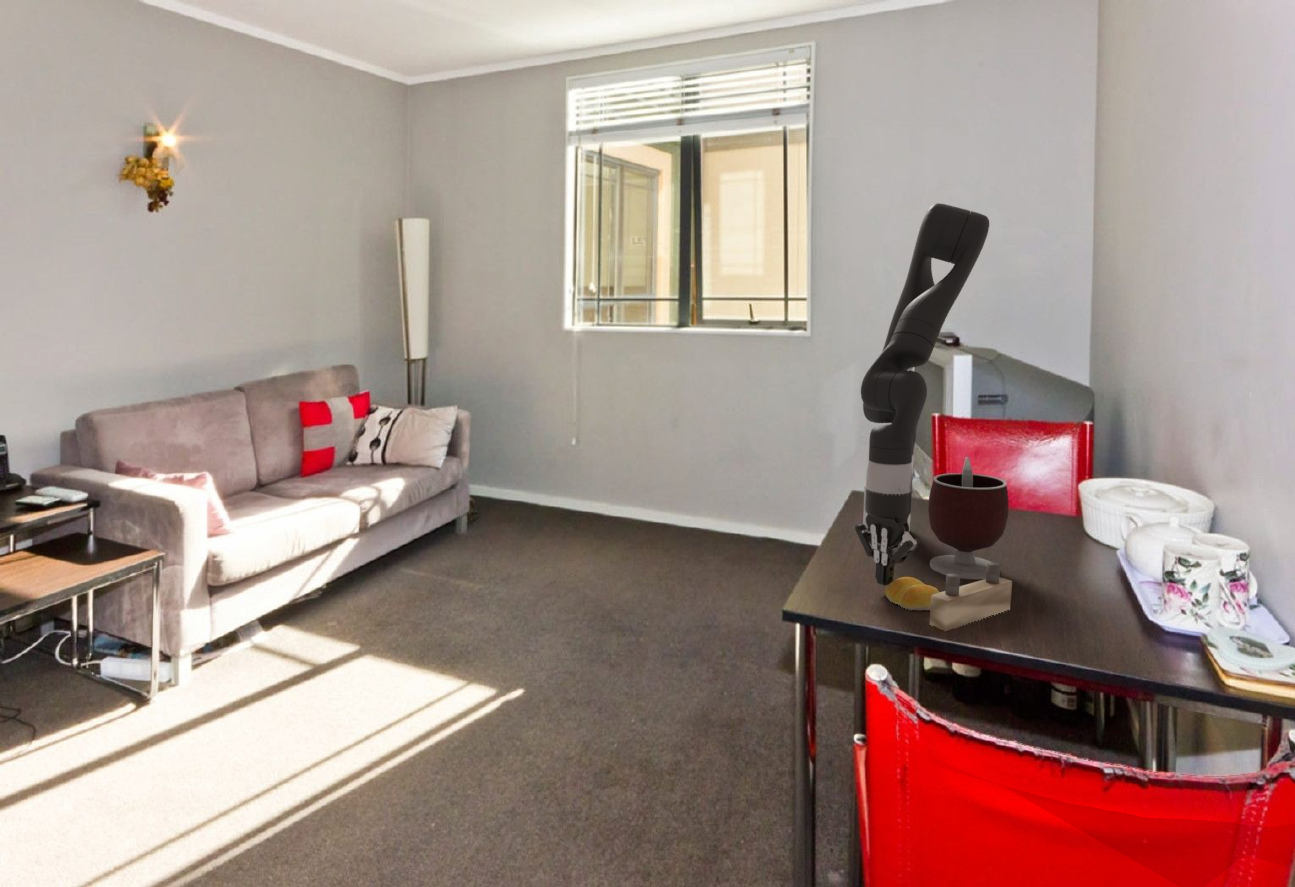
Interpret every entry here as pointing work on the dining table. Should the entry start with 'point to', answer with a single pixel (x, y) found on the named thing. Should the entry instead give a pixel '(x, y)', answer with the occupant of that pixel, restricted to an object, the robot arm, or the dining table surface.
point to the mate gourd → (967, 519)
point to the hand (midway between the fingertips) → (884, 583)
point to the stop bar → (970, 599)
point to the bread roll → (910, 593)
